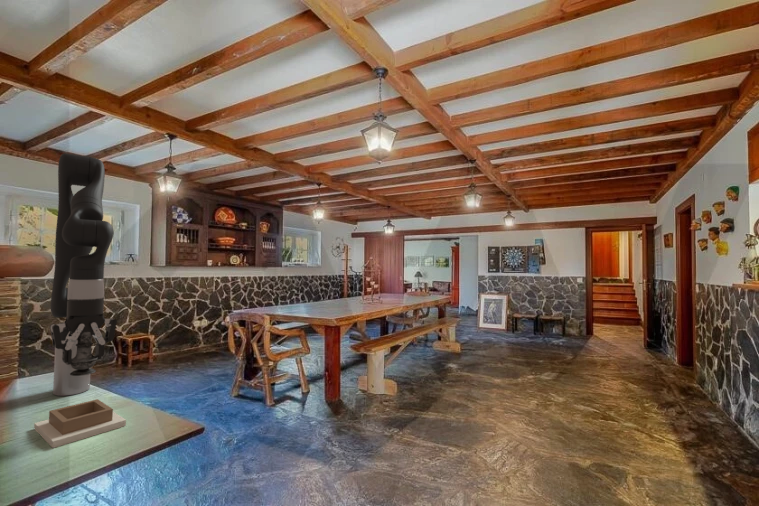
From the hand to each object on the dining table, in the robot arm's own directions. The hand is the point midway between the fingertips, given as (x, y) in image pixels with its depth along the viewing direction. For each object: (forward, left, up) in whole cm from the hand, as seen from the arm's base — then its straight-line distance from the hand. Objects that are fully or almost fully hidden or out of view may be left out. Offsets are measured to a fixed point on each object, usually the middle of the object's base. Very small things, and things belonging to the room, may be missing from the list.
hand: (83, 361), depth 98 cm
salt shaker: (0, 0, -3) cm, 3 cm away
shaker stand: (0, 0, -17) cm, 17 cm away
